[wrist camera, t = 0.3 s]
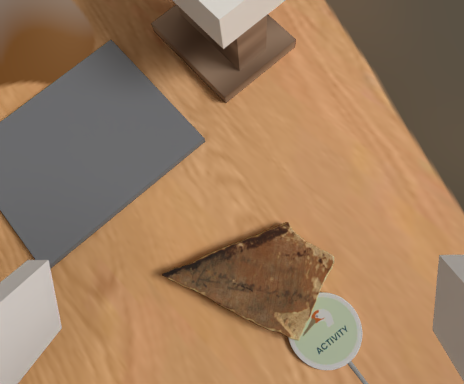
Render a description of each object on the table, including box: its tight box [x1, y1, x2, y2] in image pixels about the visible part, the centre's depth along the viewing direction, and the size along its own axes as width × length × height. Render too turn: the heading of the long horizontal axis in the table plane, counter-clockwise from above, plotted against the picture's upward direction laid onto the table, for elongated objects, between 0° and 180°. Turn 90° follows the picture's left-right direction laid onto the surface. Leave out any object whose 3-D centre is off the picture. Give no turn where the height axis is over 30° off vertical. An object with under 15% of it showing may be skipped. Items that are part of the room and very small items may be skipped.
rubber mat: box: [0, 40, 205, 269], centre depth 35 cm, size 16×13×1 cm
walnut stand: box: [151, 4, 296, 103], centre depth 35 cm, size 10×8×7 cm
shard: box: [162, 222, 334, 341], centre depth 32 cm, size 11×8×2 cm
